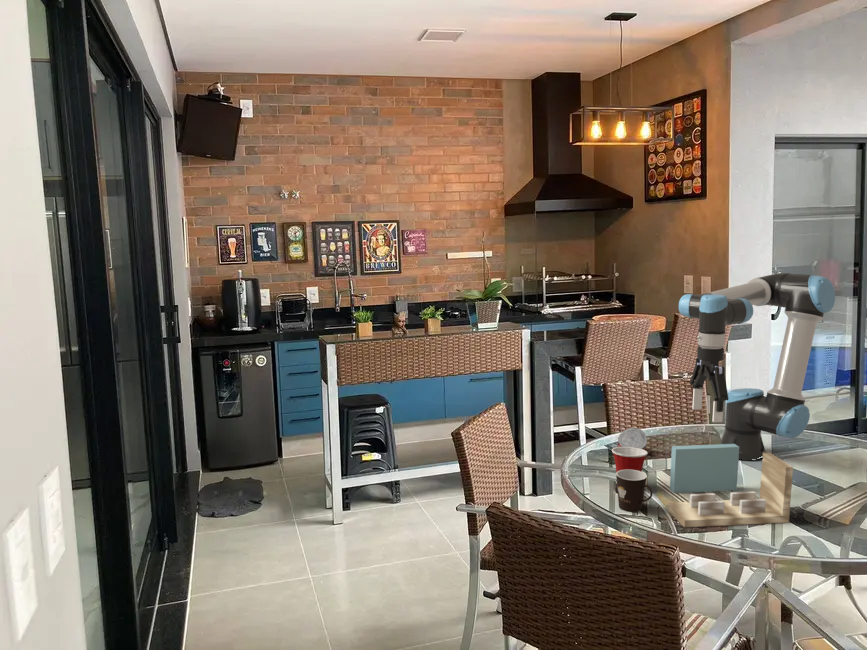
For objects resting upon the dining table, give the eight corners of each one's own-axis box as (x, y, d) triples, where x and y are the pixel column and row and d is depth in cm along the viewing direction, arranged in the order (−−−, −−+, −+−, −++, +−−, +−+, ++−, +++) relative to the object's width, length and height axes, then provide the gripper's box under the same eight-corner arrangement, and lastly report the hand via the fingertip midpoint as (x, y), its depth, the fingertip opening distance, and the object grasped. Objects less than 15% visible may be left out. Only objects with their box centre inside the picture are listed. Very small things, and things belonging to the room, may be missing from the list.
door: (731, 486, 231) (734, 443, 229) (736, 490, 228) (739, 446, 226) (669, 489, 229) (671, 446, 227) (673, 493, 226) (675, 449, 224)
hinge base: (765, 504, 217) (769, 452, 214) (788, 522, 205) (793, 467, 203) (666, 509, 214) (669, 456, 212) (684, 527, 203) (687, 471, 200)
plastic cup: (647, 482, 235) (648, 446, 233) (645, 495, 225) (646, 457, 223) (612, 478, 238) (613, 442, 236) (608, 490, 228) (609, 453, 226)
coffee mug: (611, 502, 220) (612, 470, 218) (639, 501, 220) (640, 468, 219) (624, 518, 208) (625, 484, 207) (654, 517, 209) (655, 483, 207)
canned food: (645, 465, 263) (658, 444, 258) (626, 468, 257) (639, 447, 253) (624, 443, 271) (637, 423, 266) (605, 445, 265) (618, 425, 260)
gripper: (681, 339, 233) (677, 404, 237) (718, 355, 209) (714, 427, 212) (704, 338, 234) (700, 404, 237) (744, 354, 209) (739, 427, 213)
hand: (706, 415), depth 225 cm, fingers open, 13 cm apart
